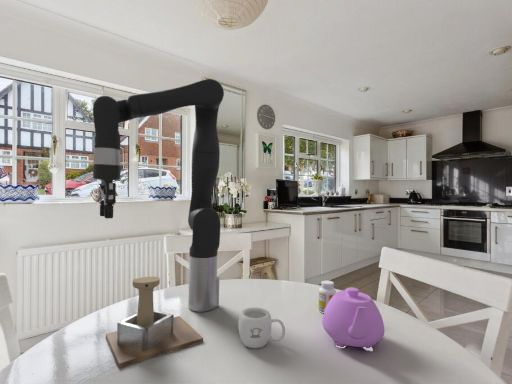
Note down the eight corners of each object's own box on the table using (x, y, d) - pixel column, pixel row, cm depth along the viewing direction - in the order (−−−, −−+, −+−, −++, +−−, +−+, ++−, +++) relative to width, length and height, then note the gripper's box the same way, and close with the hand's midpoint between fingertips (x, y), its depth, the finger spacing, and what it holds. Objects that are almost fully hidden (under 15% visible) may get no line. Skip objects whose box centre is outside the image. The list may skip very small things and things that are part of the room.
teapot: (398, 371, 65) (399, 308, 65) (325, 363, 67) (326, 303, 67) (373, 326, 86) (374, 279, 86) (319, 321, 89) (320, 276, 89)
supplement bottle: (335, 309, 98) (336, 280, 98) (335, 316, 93) (336, 285, 93) (318, 307, 100) (319, 279, 100) (318, 314, 94) (318, 283, 94)
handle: (159, 341, 73) (160, 281, 73) (131, 345, 71) (132, 283, 71) (157, 332, 78) (159, 275, 78) (131, 336, 75) (132, 278, 75)
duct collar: (147, 326, 81) (147, 308, 81) (173, 333, 78) (173, 314, 78) (117, 343, 72) (117, 322, 72) (144, 351, 69) (145, 330, 69)
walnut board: (179, 319, 88) (179, 315, 88) (203, 341, 76) (203, 337, 76) (105, 337, 77) (105, 333, 77) (118, 368, 64) (118, 363, 64)
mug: (236, 351, 71) (236, 319, 71) (239, 334, 80) (240, 305, 80) (285, 353, 71) (286, 321, 71) (284, 336, 79) (284, 307, 79)
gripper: (125, 163, 86) (124, 218, 86) (115, 166, 98) (114, 215, 98) (97, 161, 82) (95, 219, 82) (90, 164, 93) (89, 215, 93)
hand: (106, 217), depth 90 cm, fingers open, 8 cm apart
